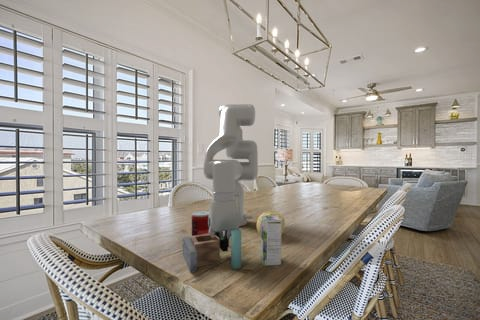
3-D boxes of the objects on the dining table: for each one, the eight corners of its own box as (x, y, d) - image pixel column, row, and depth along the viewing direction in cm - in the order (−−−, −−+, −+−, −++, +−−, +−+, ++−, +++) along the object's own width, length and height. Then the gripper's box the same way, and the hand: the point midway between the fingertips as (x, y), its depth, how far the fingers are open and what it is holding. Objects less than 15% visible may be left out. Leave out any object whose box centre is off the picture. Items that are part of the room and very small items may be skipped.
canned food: (213, 237, 98) (213, 211, 98) (205, 243, 91) (205, 216, 91) (198, 235, 101) (197, 210, 101) (188, 241, 93) (188, 214, 93)
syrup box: (260, 258, 78) (260, 215, 78) (277, 257, 78) (277, 214, 78) (263, 266, 72) (263, 219, 72) (282, 265, 73) (282, 219, 72)
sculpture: (260, 242, 92) (260, 215, 92) (254, 232, 104) (254, 208, 104) (287, 240, 94) (287, 214, 94) (278, 231, 106) (278, 207, 106)
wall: (188, 253, 82) (188, 236, 82) (196, 271, 69) (196, 251, 69) (182, 254, 81) (182, 237, 81) (190, 272, 68) (190, 252, 68)
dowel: (239, 263, 74) (238, 228, 74) (243, 267, 71) (242, 231, 71) (229, 264, 73) (229, 230, 73) (233, 269, 70) (233, 233, 70)
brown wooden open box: (212, 252, 82) (212, 233, 82) (219, 262, 75) (219, 240, 75) (190, 256, 79) (189, 236, 79) (194, 266, 72) (194, 244, 72)
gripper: (239, 193, 86) (239, 242, 86) (199, 196, 80) (200, 249, 80) (248, 196, 79) (248, 250, 79) (205, 200, 73) (205, 258, 73)
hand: (224, 249), depth 79 cm, fingers closed
